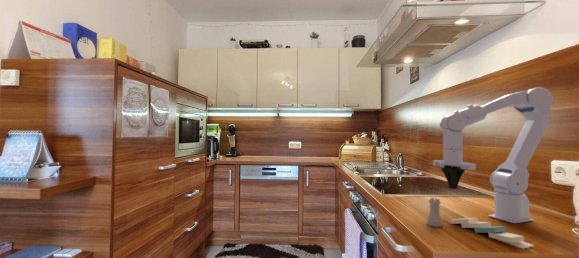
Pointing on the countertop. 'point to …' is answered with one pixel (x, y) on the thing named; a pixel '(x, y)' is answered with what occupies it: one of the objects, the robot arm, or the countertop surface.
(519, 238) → the domino
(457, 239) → the countertop surface
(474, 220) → the domino
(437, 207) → the rook chess piece
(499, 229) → the domino
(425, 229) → the countertop surface
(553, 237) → the countertop surface
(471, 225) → the domino
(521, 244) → the domino
